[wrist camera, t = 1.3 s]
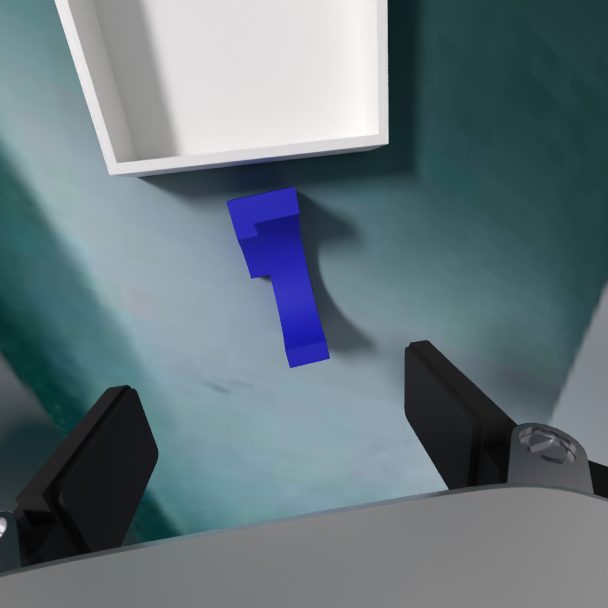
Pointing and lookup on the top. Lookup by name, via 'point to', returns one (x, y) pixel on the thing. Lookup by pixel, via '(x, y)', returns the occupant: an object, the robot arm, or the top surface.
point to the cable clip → (281, 267)
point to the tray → (229, 80)
